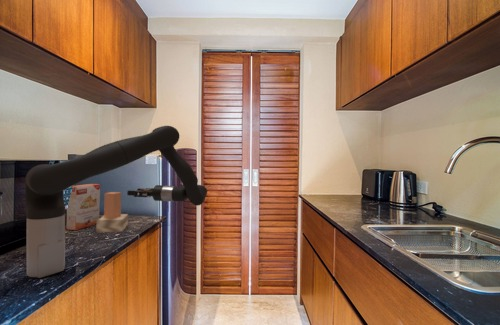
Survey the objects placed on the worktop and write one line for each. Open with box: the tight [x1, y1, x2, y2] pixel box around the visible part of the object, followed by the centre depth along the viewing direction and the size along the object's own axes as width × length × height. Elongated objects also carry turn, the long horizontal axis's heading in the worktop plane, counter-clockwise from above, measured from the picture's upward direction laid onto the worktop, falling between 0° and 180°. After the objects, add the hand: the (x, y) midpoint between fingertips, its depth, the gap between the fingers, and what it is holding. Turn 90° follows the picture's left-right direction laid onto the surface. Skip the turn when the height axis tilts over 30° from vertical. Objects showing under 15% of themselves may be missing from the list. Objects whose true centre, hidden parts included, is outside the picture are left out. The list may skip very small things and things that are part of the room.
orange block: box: [103, 191, 122, 219], centre depth 119 cm, size 5×5×12 cm
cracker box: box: [65, 183, 101, 231], centre depth 122 cm, size 14×6×21 cm, turn 168°
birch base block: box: [95, 213, 129, 234], centre depth 120 cm, size 11×11×6 cm
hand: (132, 191), depth 118 cm, fingers open, 8 cm apart
